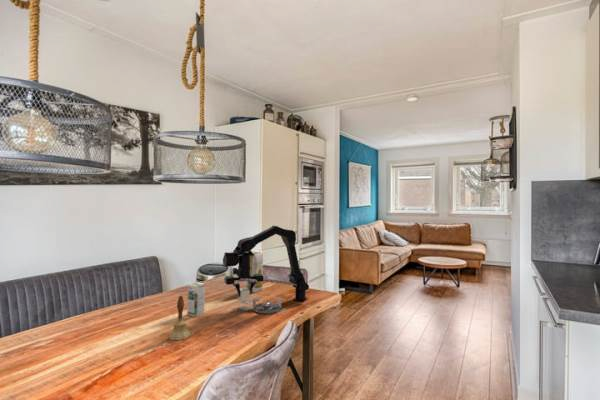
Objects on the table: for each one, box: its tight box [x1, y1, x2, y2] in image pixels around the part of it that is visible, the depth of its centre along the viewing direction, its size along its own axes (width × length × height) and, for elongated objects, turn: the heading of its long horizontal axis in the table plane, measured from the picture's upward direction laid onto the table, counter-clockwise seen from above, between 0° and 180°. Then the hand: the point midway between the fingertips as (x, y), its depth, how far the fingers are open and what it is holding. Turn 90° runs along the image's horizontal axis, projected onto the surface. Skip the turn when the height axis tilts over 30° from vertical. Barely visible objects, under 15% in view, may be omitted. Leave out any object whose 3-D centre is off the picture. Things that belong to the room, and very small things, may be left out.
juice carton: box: [245, 250, 264, 293], centre depth 191 cm, size 9×8×24 cm
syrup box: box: [186, 281, 206, 318], centre depth 151 cm, size 6×6×14 cm
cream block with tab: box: [237, 287, 251, 306], centre depth 158 cm, size 10×4×6 cm, turn 26°
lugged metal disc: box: [252, 297, 282, 315], centre depth 159 cm, size 14×14×5 cm
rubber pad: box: [236, 305, 252, 313], centre depth 158 cm, size 7×7×1 cm
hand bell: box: [168, 295, 192, 341], centre depth 126 cm, size 8×8×16 cm
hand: (244, 296), depth 158 cm, fingers closed on cream block with tab, 4 cm apart
